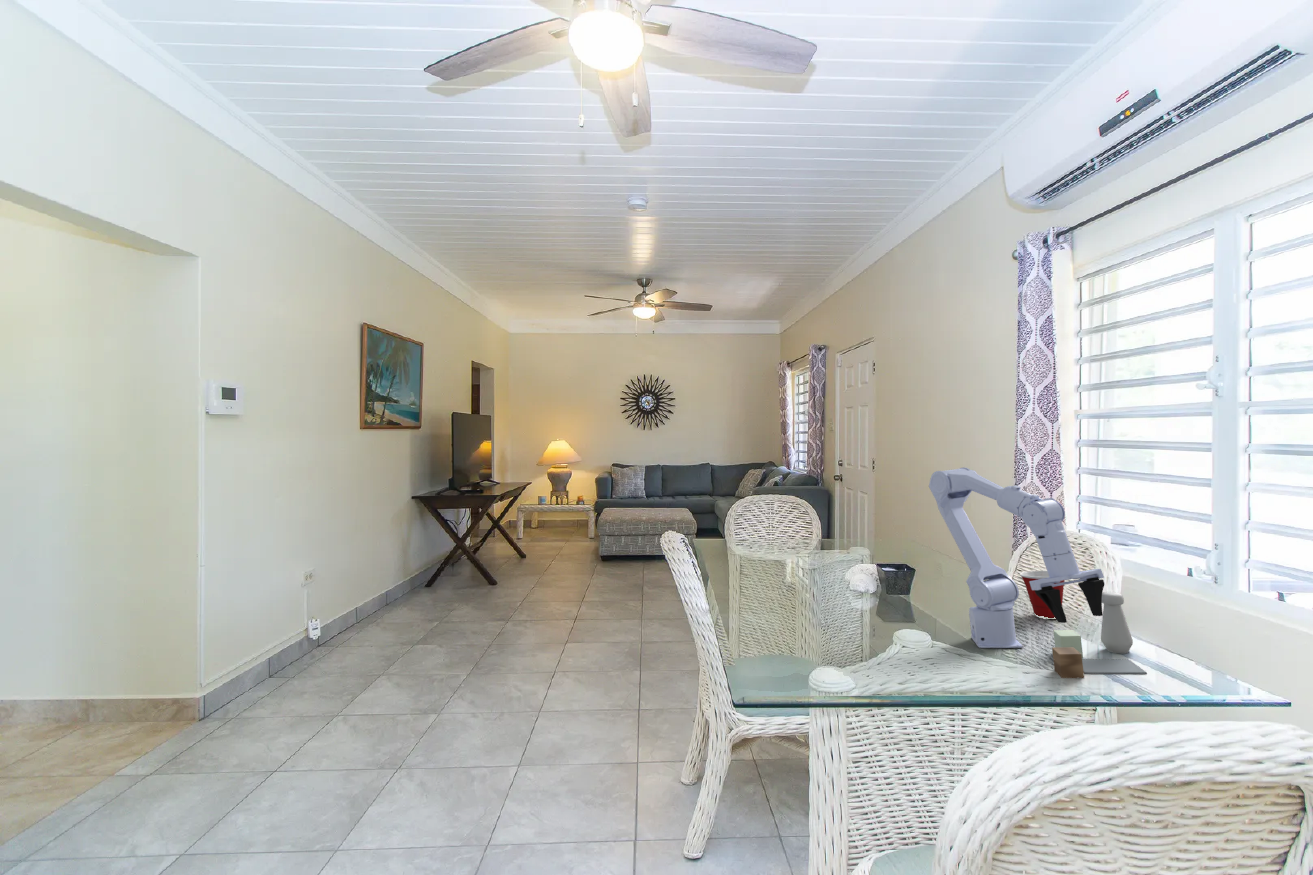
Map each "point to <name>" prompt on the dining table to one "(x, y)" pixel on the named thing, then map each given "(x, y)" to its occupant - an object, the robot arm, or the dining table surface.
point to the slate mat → (1111, 666)
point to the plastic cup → (1036, 601)
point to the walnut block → (1068, 662)
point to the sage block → (1068, 639)
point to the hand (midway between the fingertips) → (1080, 619)
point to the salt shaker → (1115, 624)
